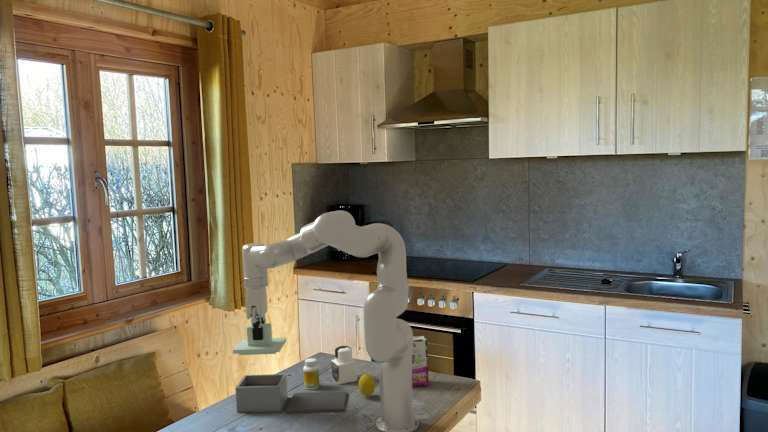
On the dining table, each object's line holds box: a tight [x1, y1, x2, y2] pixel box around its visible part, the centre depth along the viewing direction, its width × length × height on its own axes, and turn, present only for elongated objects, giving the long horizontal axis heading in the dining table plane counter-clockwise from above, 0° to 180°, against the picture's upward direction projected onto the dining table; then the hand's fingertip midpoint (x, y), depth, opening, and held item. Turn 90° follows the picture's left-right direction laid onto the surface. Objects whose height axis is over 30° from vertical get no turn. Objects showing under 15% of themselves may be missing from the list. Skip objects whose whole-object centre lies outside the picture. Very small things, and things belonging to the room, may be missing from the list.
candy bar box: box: [412, 335, 429, 388], centre depth 200 cm, size 11×5×16 cm, turn 97°
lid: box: [232, 322, 287, 356], centre depth 186 cm, size 15×12×8 cm
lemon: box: [358, 372, 376, 398], centre depth 191 cm, size 6×6×8 cm
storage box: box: [235, 373, 288, 413], centre depth 188 cm, size 14×11×8 cm
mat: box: [285, 391, 348, 414], centre depth 188 cm, size 18×14×1 cm
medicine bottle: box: [331, 345, 358, 386], centre depth 207 cm, size 7×7×12 cm
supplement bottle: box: [302, 357, 320, 390], centre depth 202 cm, size 5×5×10 cm
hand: (259, 337), depth 186 cm, fingers closed on lid, 4 cm apart
